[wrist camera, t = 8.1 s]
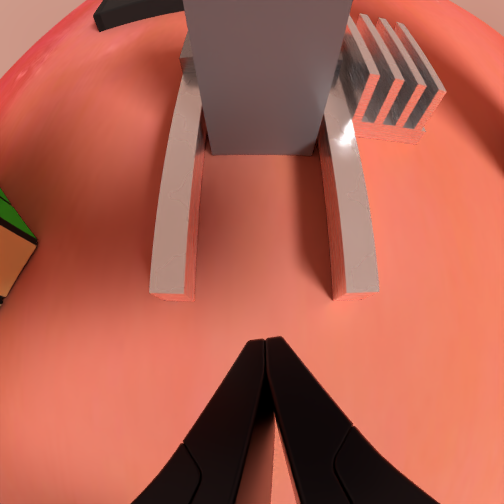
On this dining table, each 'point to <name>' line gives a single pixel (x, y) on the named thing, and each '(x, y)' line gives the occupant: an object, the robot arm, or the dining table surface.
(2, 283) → the puzzle cube
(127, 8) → the black flat slab
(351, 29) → the heatsink base
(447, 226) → the dining table surface
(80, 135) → the dining table surface
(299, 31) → the block
